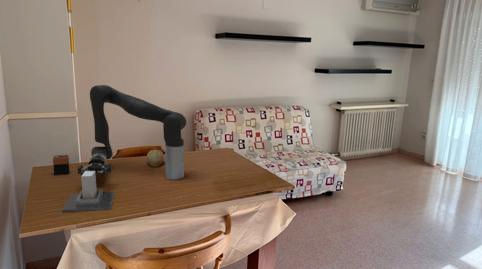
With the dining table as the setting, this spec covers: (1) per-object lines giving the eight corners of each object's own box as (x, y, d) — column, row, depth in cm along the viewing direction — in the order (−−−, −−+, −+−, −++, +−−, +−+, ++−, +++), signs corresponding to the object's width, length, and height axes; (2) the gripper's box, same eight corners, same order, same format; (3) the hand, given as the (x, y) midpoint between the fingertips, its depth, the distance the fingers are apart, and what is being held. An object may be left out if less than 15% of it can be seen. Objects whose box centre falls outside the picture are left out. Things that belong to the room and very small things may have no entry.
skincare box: (86, 197, 148) (84, 170, 145) (97, 196, 149) (95, 170, 146) (82, 203, 142) (80, 175, 140) (93, 203, 143) (91, 175, 140)
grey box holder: (114, 193, 156) (114, 186, 155) (110, 209, 141) (110, 201, 140) (70, 195, 151) (70, 188, 150) (62, 212, 136) (61, 204, 135)
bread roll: (162, 159, 207) (162, 146, 205) (165, 167, 193) (165, 153, 192) (145, 160, 204) (145, 147, 202) (147, 168, 190) (147, 154, 189)
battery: (69, 174, 176) (67, 155, 174) (54, 175, 173) (52, 156, 171) (69, 171, 180) (68, 153, 178) (55, 172, 177) (53, 153, 175)
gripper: (81, 155, 166) (74, 167, 151) (112, 155, 170) (109, 165, 154) (82, 170, 168) (75, 183, 153) (113, 169, 171) (110, 181, 156)
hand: (92, 174), depth 153 cm, fingers open, 8 cm apart
